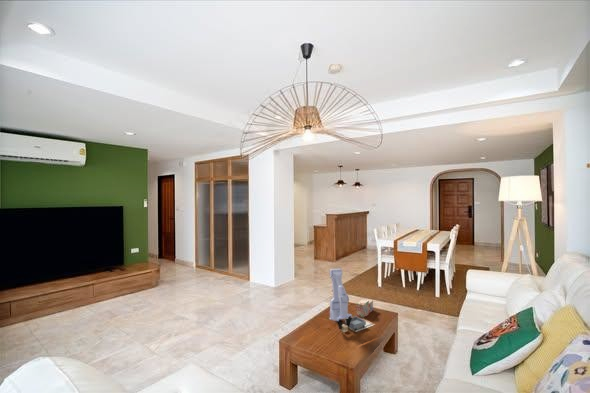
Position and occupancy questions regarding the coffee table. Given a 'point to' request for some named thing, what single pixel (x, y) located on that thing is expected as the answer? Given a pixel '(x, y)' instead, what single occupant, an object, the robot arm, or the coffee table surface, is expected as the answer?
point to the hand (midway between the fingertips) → (344, 327)
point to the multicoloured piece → (364, 307)
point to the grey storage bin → (357, 322)
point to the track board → (362, 326)
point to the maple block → (344, 328)
